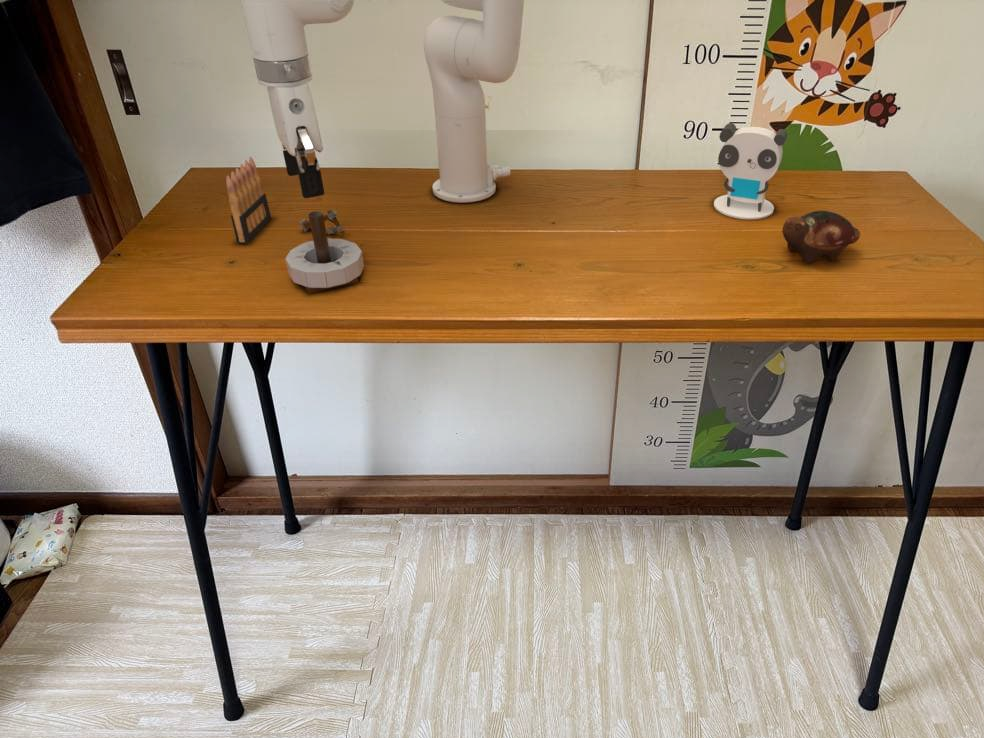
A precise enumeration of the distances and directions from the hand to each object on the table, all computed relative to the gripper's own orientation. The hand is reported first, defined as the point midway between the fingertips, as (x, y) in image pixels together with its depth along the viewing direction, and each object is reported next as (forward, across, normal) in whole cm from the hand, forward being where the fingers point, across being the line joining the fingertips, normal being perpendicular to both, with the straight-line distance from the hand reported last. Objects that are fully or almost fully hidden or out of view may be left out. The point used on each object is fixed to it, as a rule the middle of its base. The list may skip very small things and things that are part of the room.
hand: (305, 184), depth 120 cm
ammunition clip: (+14, +18, +7) cm, 24 cm away
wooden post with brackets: (+14, +12, -4) cm, 19 cm away
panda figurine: (+15, -12, -79) cm, 81 cm away
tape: (+13, -4, 0) cm, 14 cm away
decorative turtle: (+15, -34, -77) cm, 85 cm away
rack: (+14, -4, 0) cm, 15 cm away
